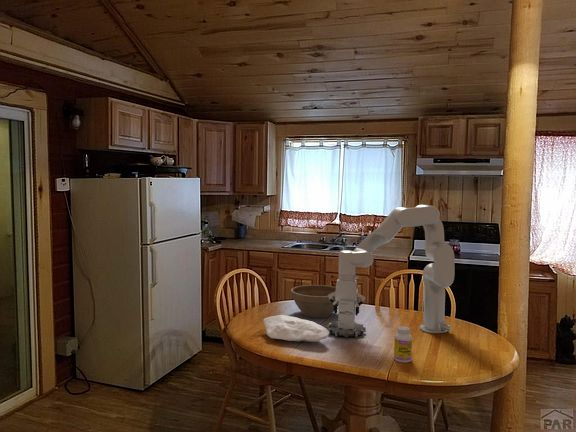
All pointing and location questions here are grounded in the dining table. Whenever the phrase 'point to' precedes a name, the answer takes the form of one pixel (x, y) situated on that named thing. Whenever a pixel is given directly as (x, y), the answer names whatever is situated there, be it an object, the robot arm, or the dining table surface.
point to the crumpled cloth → (294, 329)
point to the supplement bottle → (403, 345)
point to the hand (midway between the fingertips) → (346, 313)
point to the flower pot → (314, 300)
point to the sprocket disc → (346, 330)
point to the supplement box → (346, 314)
